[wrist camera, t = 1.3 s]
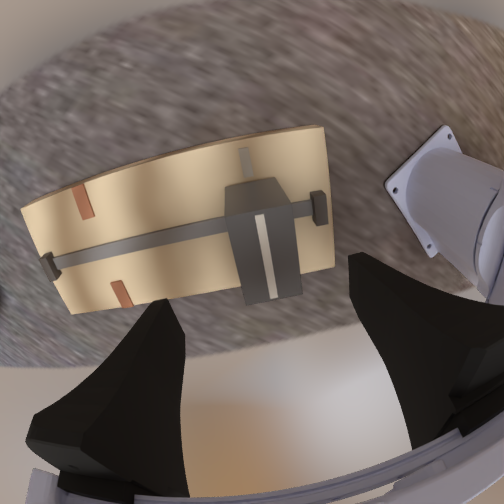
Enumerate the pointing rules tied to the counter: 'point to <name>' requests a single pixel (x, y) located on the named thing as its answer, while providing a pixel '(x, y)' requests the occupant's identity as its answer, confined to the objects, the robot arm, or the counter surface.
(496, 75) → the counter surface
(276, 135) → the slider panel
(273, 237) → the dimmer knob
